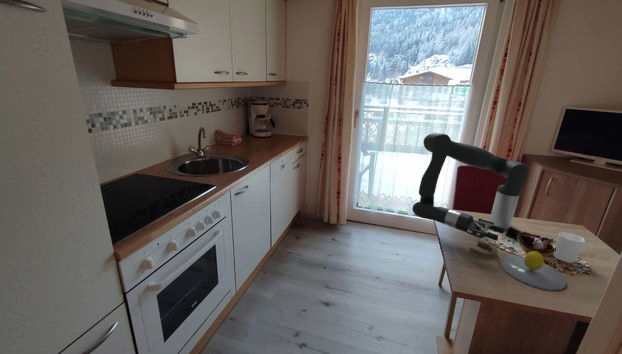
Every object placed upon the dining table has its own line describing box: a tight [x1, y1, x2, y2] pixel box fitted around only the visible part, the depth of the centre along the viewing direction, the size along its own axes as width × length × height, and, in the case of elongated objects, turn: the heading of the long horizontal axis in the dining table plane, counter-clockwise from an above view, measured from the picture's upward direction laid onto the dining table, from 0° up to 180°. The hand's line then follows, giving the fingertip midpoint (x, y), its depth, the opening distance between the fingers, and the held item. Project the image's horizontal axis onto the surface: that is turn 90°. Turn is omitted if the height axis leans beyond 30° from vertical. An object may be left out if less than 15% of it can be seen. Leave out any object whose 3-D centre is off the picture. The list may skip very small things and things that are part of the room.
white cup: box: [553, 231, 586, 264], centre depth 115 cm, size 8×8×10 cm
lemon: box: [524, 250, 545, 270], centre depth 105 cm, size 6×6×8 cm
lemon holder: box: [468, 239, 498, 260], centre depth 118 cm, size 11×8×2 cm
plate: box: [499, 254, 567, 291], centre depth 106 cm, size 20×20×1 cm
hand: (501, 234), depth 112 cm, fingers open, 8 cm apart
